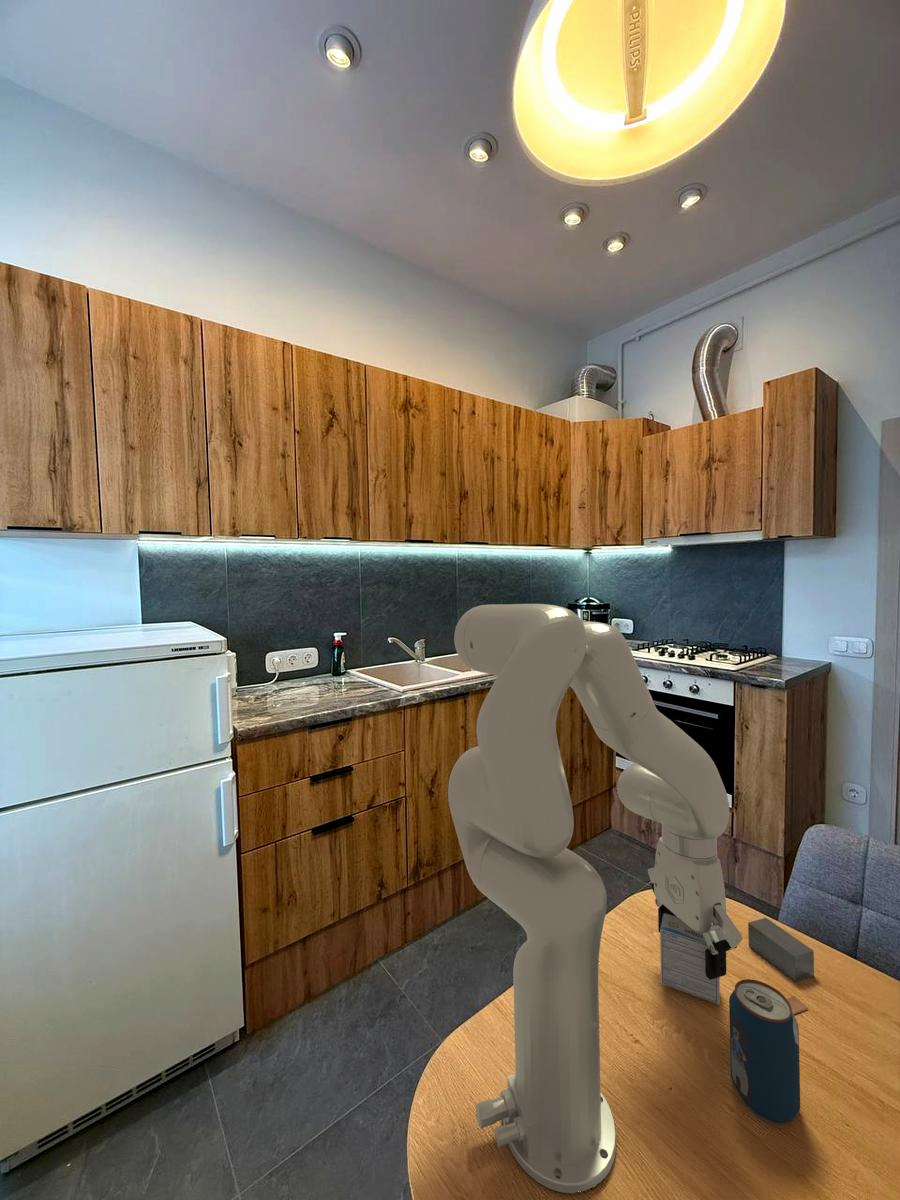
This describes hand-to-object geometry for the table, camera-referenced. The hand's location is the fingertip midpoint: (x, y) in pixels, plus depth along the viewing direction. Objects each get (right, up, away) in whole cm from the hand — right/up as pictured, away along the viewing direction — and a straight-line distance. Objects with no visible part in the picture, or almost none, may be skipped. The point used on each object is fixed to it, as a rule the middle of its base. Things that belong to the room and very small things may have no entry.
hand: (690, 952), depth 71 cm
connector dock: (+12, -6, +4) cm, 14 cm away
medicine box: (0, -5, 0) cm, 5 cm away
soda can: (+1, -6, -15) cm, 17 cm away
